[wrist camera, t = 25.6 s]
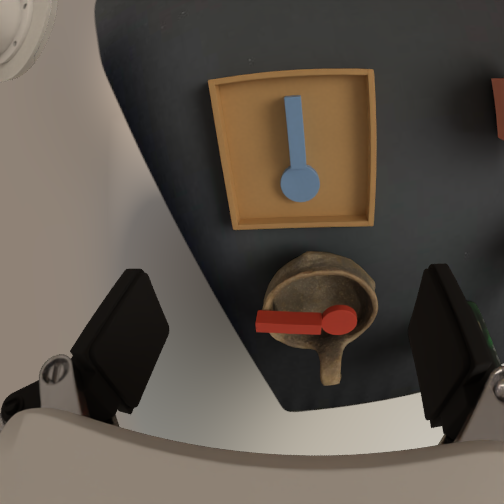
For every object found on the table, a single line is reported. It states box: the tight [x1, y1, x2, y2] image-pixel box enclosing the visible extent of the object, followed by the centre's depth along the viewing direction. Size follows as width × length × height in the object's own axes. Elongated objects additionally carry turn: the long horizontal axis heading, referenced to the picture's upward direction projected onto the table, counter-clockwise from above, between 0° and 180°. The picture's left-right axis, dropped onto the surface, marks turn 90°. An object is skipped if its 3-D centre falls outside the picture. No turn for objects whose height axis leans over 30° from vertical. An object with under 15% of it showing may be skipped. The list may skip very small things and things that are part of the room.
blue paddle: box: [280, 95, 320, 202], centre depth 28 cm, size 11×4×2 cm, turn 7°
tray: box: [208, 69, 376, 230], centre depth 29 cm, size 15×16×2 cm
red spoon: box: [255, 305, 357, 335], centre depth 32 cm, size 11×4×2 cm, turn 94°
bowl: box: [262, 251, 378, 386], centre depth 35 cm, size 14×18×10 cm
